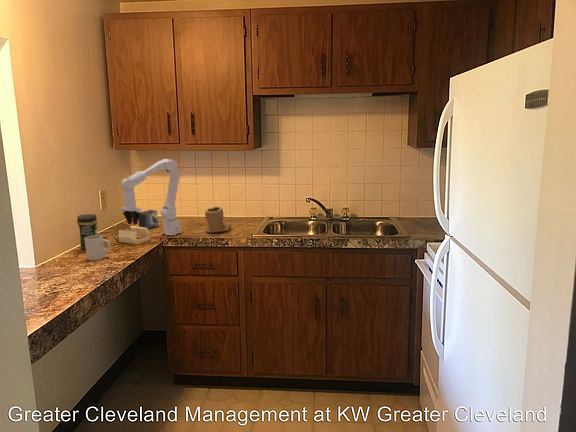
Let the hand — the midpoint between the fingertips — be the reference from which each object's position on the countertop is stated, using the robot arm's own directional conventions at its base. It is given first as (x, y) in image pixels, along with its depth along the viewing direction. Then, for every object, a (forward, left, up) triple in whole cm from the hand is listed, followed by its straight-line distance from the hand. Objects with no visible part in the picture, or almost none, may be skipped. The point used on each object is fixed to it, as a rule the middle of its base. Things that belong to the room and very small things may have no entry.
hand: (132, 224), depth 255 cm
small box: (+15, -25, -10) cm, 31 cm away
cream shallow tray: (0, 0, -10) cm, 10 cm away
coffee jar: (+13, +19, -10) cm, 25 cm away
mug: (-7, +29, -10) cm, 31 cm away
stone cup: (-33, -34, -10) cm, 48 cm away
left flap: (0, +4, -5) cm, 6 cm away
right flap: (0, -4, -5) cm, 6 cm away
